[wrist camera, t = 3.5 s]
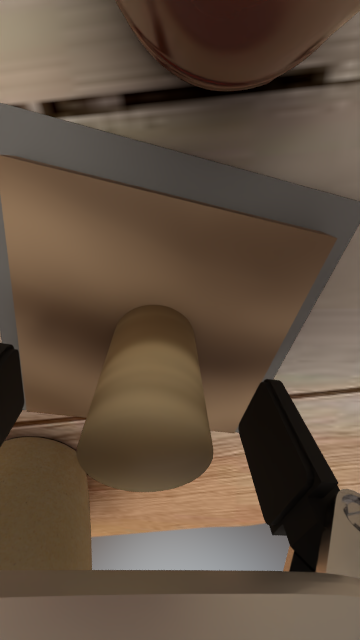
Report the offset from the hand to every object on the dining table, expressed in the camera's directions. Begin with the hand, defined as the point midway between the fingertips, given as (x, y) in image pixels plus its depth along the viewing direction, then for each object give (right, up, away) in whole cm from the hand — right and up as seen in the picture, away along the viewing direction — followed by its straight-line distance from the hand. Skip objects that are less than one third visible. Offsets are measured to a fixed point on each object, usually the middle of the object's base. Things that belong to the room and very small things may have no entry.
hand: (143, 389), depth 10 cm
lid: (0, +2, +4) cm, 4 cm away
